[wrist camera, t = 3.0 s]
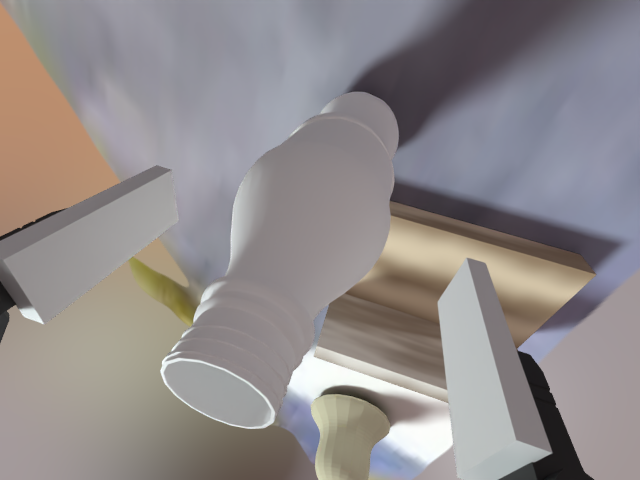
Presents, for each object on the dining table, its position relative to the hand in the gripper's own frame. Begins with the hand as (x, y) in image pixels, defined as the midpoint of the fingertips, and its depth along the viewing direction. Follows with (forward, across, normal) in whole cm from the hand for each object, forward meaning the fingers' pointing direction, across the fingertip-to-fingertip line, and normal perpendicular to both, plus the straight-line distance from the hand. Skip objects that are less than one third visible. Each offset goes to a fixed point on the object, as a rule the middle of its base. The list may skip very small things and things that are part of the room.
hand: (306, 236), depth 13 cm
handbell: (+18, +12, -51) cm, 55 cm away
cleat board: (+18, +13, -12) cm, 25 cm away
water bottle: (+18, 0, 0) cm, 18 cm away
